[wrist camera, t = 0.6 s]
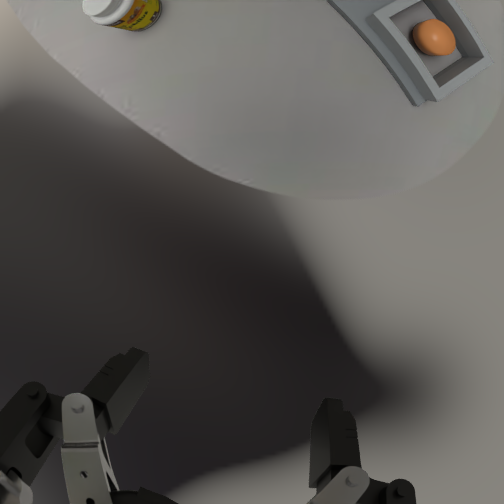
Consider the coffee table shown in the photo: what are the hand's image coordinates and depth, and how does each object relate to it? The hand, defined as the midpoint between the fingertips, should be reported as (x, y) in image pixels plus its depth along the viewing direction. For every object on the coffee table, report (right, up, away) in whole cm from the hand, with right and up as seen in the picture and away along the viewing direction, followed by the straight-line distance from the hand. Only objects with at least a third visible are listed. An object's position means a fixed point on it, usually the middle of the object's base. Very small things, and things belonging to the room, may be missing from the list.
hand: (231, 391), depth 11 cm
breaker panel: (+20, +33, +9) cm, 39 cm away
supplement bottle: (-12, +35, +12) cm, 39 cm away
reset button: (+21, +30, +9) cm, 38 cm away
